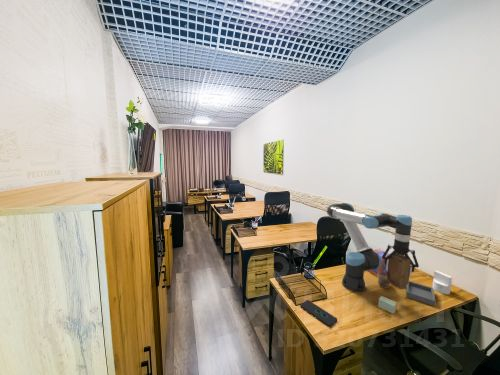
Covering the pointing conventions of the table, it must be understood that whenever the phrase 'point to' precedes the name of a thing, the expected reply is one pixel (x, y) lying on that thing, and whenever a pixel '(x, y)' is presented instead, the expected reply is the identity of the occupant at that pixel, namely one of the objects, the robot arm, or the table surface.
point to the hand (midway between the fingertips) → (398, 272)
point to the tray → (420, 293)
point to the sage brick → (387, 304)
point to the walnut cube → (383, 282)
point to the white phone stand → (442, 282)
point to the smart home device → (319, 313)
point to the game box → (382, 268)
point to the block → (398, 270)
